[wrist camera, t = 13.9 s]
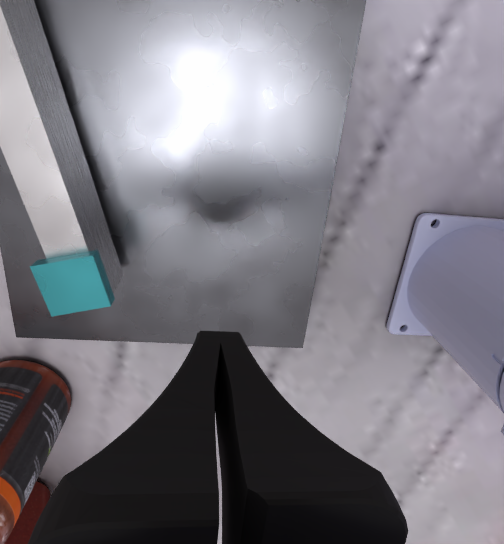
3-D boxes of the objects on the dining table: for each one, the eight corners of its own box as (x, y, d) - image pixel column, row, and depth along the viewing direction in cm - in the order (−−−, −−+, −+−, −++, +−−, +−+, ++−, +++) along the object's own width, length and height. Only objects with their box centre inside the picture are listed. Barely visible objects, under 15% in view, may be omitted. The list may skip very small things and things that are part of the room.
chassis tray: (388, -163, 15) (399, -180, 14) (299, 338, 25) (302, 347, 24) (-71, -254, 13) (-92, -281, 12) (24, 327, 23) (16, 337, 22)
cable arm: (-43, -48, 14) (-130, -99, 11) (25, -59, 14) (-39, -113, 11) (82, 282, 20) (53, 320, 16) (131, 273, 20) (112, 310, 16)
